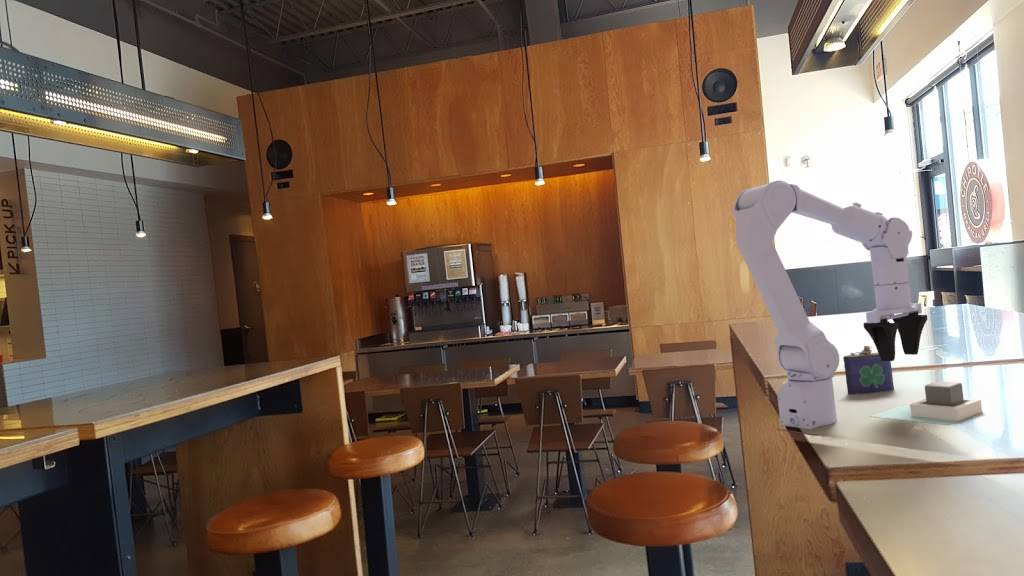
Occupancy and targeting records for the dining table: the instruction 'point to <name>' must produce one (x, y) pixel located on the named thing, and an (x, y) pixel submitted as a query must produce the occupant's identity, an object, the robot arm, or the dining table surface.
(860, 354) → the flask
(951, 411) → the socket
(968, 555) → the dining table surface
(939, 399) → the grey block
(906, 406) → the translucent flat sheet
